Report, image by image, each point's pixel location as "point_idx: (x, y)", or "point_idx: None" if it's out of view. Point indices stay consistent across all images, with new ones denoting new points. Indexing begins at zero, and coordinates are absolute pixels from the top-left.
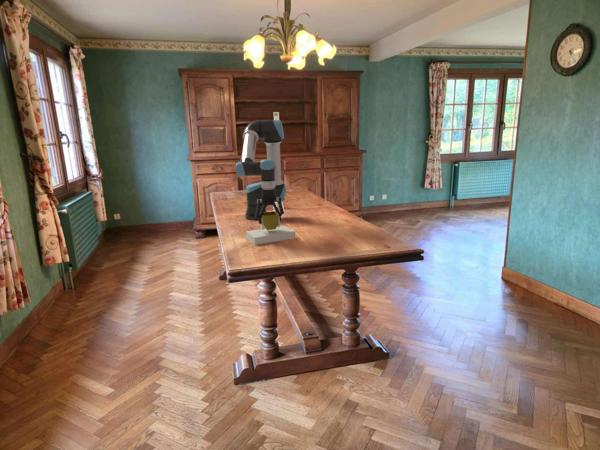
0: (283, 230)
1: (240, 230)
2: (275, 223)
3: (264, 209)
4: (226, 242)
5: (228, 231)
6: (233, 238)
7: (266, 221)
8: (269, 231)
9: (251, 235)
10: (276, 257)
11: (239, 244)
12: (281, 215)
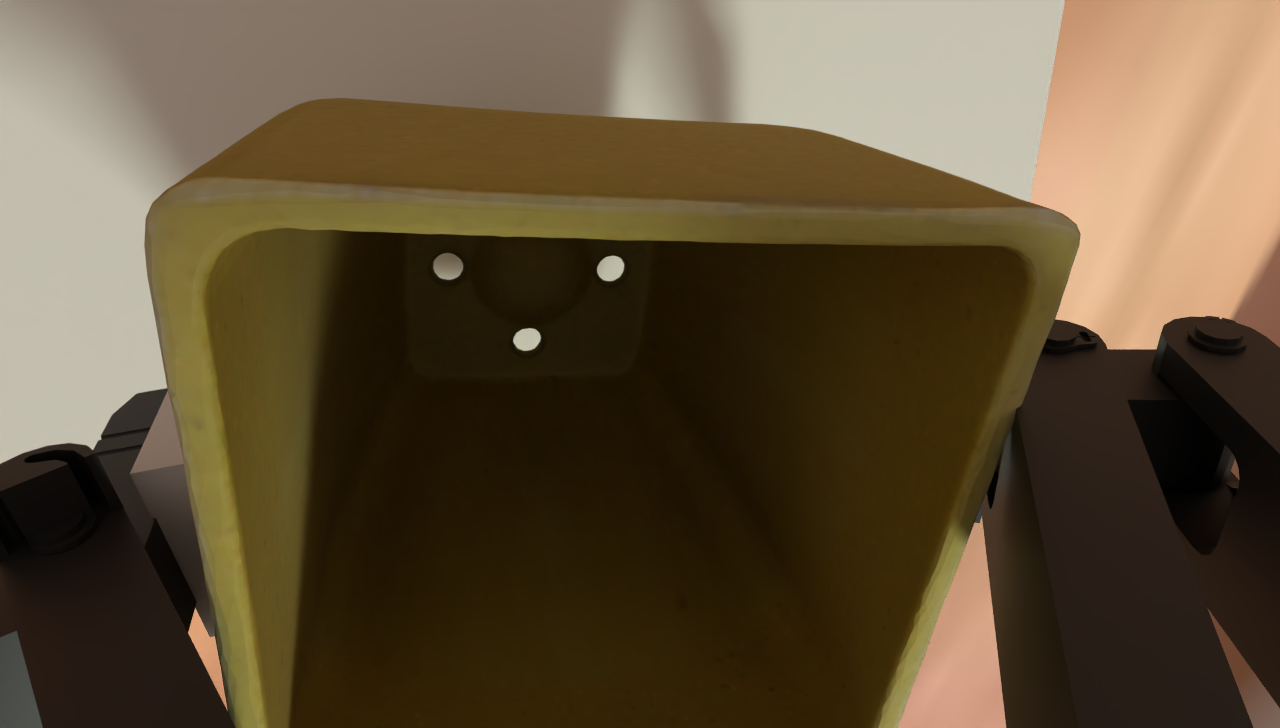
0: (139, 178)
1: None
2: (416, 105)
3: (1100, 630)
4: (1266, 224)
5: (979, 689)
6: None
7: (814, 144)
8: None
9: (1051, 62)
10: None
11: (1186, 11)
12: (2, 465)
